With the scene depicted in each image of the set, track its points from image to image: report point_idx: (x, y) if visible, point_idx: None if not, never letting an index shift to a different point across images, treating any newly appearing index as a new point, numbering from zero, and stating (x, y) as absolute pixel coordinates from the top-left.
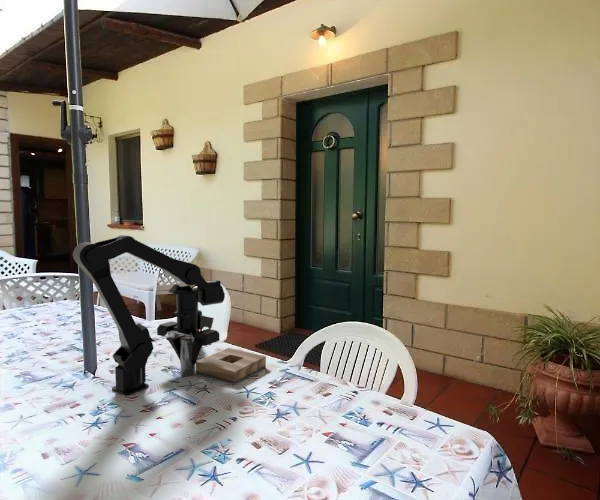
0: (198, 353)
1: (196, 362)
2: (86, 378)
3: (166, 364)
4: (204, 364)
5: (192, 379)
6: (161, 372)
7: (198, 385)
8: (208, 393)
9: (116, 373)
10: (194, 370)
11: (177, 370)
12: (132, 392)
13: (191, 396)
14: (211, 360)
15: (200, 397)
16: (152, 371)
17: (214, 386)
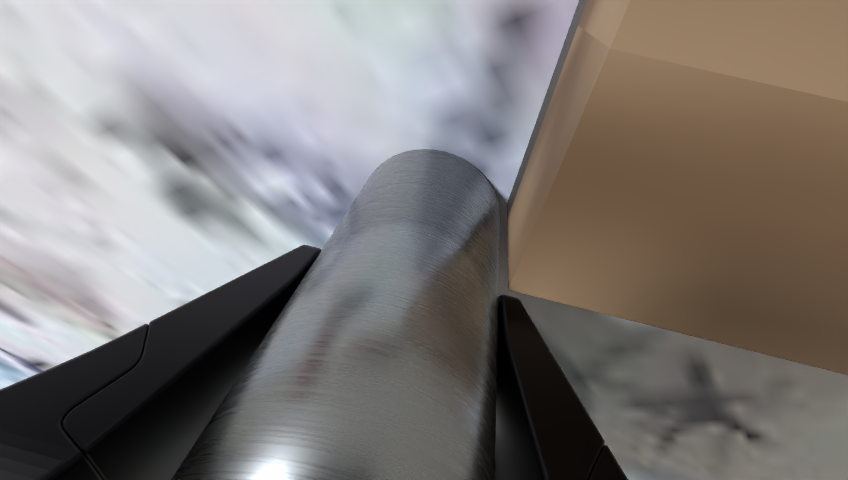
0: (590, 443)
1: (519, 283)
2: (26, 378)
3: (73, 79)
4: (667, 321)
5: (538, 307)
6: (221, 251)
7: (635, 376)
8: (751, 447)
9: None
10: (499, 239)
11: (291, 182)
12: None
13: (642, 471)
14: (771, 202)
15: (705, 477)
16: (154, 251)
17: (785, 375)
